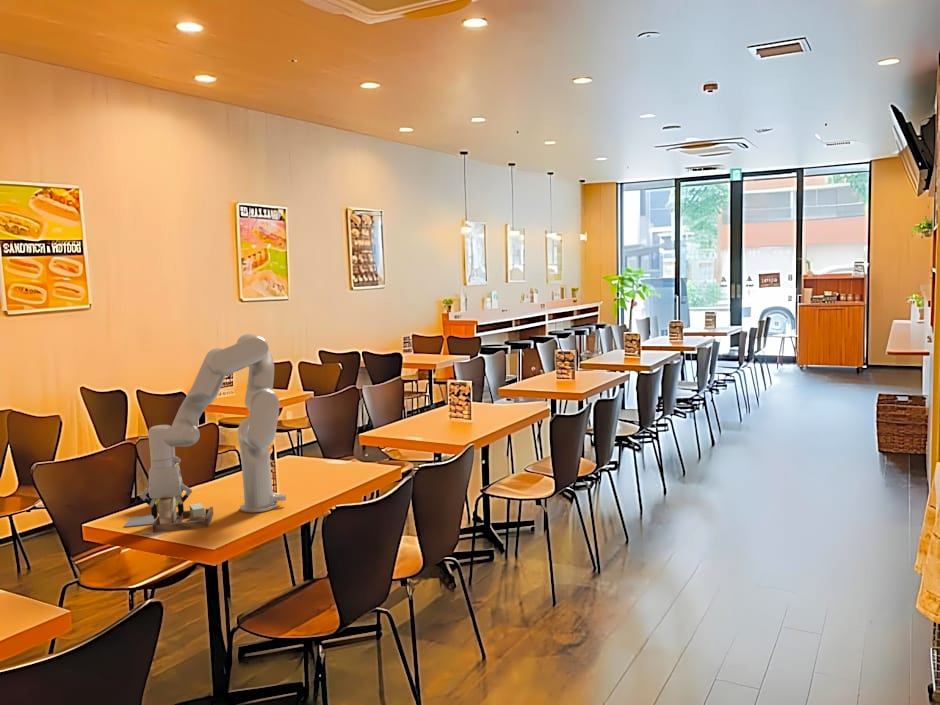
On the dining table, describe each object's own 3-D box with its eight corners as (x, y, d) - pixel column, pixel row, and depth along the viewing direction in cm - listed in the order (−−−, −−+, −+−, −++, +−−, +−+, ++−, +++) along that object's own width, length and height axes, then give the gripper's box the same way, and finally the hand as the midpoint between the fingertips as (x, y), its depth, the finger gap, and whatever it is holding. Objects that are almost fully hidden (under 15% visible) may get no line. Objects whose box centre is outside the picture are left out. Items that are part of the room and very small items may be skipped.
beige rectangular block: (176, 519, 264) (174, 493, 264) (171, 528, 255) (169, 501, 254) (165, 520, 264) (163, 494, 263) (160, 529, 254) (158, 502, 253)
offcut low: (206, 517, 266) (205, 508, 266) (204, 525, 258) (204, 516, 257) (192, 519, 265) (191, 510, 265) (190, 527, 256) (189, 518, 256)
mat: (158, 515, 269) (158, 514, 269) (152, 524, 260) (152, 523, 260) (130, 518, 268) (130, 517, 268) (123, 527, 258) (123, 526, 258)
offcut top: (200, 510, 265) (200, 502, 264) (204, 515, 259) (204, 507, 258) (189, 512, 263) (189, 504, 263) (193, 517, 257) (193, 509, 257)
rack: (213, 513, 269) (212, 506, 268) (208, 526, 255) (208, 518, 255) (160, 519, 265) (160, 511, 265) (152, 532, 252) (152, 524, 251)
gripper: (193, 458, 263) (197, 510, 264) (137, 463, 259) (142, 515, 261) (189, 463, 255) (194, 517, 257) (132, 468, 252) (137, 522, 254)
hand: (168, 516), depth 259 cm, fingers open, 7 cm apart
